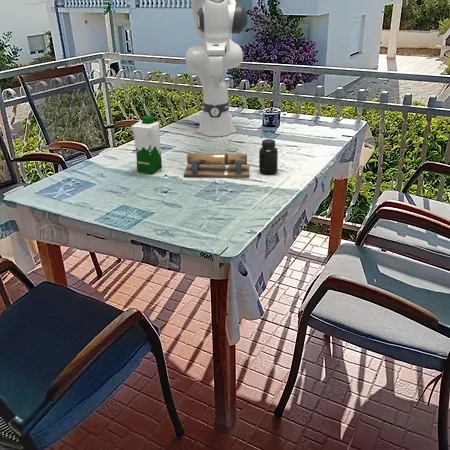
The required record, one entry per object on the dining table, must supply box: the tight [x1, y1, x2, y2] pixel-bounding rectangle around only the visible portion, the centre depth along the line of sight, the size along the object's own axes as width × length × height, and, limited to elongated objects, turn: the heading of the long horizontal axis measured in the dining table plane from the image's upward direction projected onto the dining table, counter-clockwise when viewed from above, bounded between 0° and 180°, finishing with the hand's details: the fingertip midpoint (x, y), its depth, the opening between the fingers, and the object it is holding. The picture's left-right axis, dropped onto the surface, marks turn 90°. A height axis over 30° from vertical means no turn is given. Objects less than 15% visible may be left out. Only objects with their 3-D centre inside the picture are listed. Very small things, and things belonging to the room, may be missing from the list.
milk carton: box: [130, 115, 163, 175], centre depth 177 cm, size 9×9×20 cm
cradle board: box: [183, 164, 251, 179], centre depth 178 cm, size 10×24×1 cm, turn 87°
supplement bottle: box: [258, 138, 279, 176], centre depth 176 cm, size 7×7×12 cm
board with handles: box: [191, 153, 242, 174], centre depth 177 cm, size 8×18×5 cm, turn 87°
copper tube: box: [186, 153, 248, 165], centre depth 177 cm, size 22×4×4 cm, turn 87°
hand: (218, 85), depth 177 cm, fingers open, 8 cm apart
